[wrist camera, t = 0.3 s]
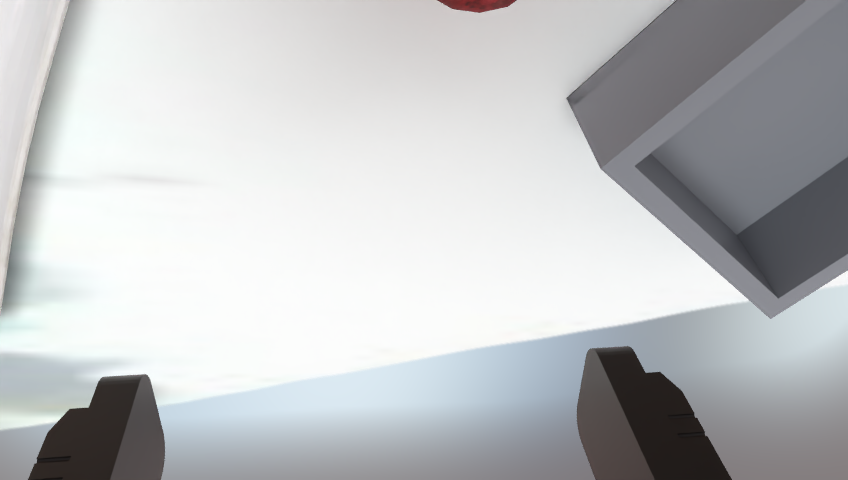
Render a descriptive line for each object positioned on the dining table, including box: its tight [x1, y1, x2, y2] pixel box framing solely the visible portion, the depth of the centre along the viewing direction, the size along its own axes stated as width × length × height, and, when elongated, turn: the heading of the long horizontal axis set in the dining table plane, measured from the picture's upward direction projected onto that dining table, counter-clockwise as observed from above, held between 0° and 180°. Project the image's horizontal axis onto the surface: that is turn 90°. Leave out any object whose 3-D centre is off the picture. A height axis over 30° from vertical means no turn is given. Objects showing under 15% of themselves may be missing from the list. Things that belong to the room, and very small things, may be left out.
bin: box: [567, 0, 848, 319], centre depth 33 cm, size 14×14×6 cm
